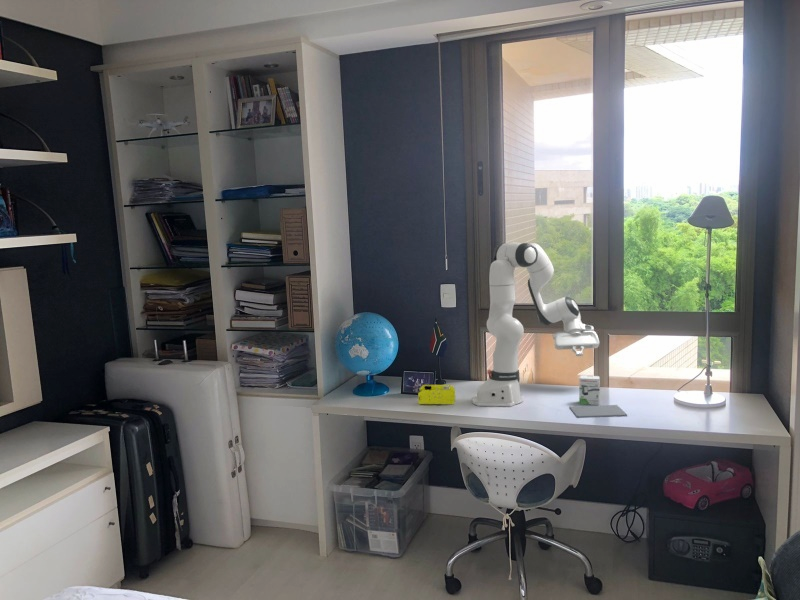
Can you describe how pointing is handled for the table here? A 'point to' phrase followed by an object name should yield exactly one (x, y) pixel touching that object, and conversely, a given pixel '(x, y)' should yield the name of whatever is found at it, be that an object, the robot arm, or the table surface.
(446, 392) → the yellow camera
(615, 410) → the mat
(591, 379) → the ink box
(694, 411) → the table surface
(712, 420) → the table surface
